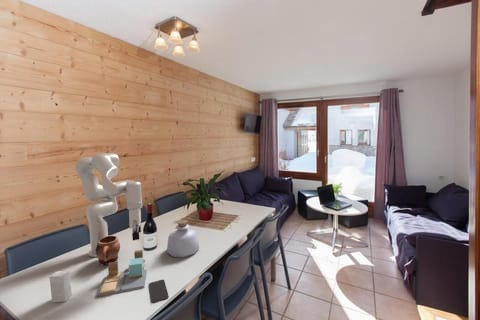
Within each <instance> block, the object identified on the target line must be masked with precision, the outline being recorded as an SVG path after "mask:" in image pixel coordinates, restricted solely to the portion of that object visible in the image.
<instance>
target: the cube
mask: <svg viewBox="0 0 480 320" xmlns="http://www.w3.org/2000/svg"><path fill="white" fill-rule="evenodd" d="M143 260H144V257H143V258H136V259H135V258H132V259H130V261H129V263H128V273H129V277H131V276H137V275H142V274H143Z"/></svg>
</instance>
